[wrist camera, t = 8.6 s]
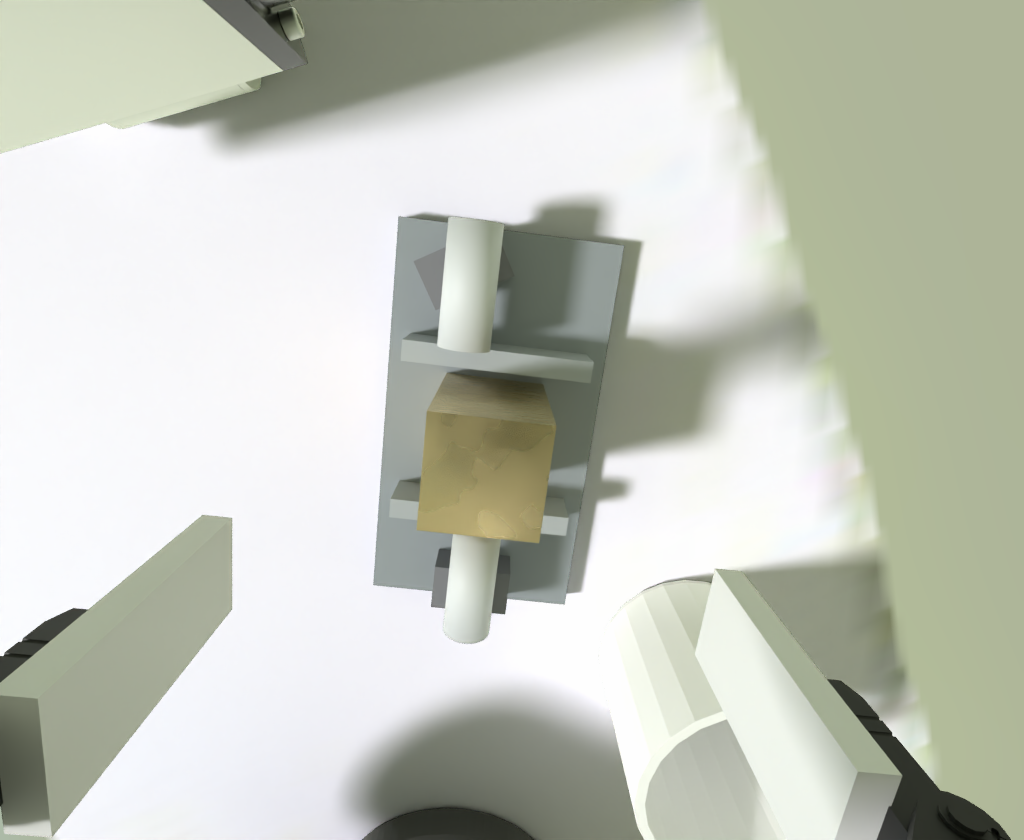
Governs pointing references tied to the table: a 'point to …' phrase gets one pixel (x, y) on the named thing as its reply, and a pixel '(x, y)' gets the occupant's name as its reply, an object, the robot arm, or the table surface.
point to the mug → (677, 724)
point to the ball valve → (133, 60)
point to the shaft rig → (502, 355)
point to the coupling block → (486, 459)
